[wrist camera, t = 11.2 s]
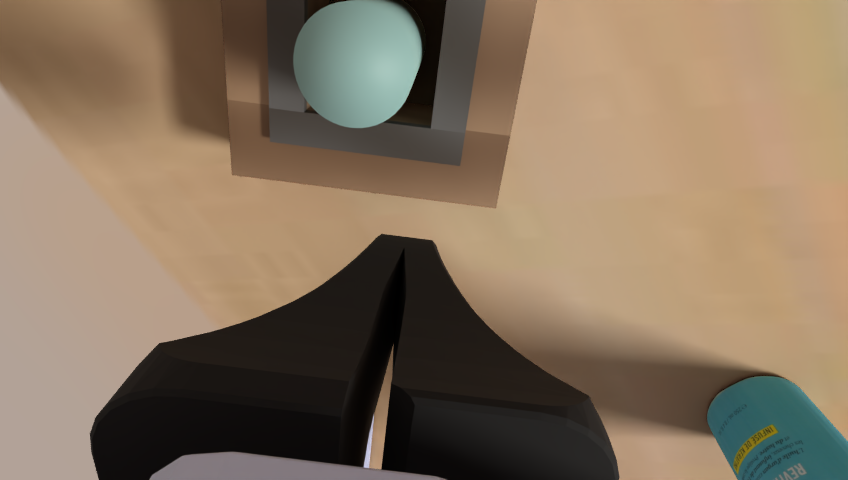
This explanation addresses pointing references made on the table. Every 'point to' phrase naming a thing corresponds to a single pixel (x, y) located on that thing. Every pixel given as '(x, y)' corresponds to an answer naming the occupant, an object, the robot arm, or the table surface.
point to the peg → (359, 60)
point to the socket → (397, 136)
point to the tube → (776, 433)
